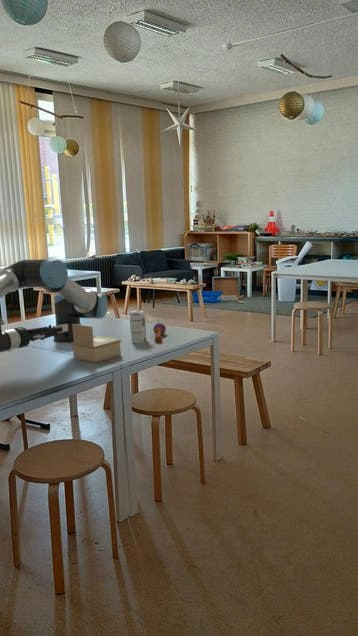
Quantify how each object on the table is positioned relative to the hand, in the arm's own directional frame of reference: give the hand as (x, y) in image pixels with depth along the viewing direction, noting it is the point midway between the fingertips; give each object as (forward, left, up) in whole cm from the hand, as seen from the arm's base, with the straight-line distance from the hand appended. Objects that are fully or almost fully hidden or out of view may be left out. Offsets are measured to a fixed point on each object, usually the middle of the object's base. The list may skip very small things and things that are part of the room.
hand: (66, 327), depth 228 cm
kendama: (-2, +56, -16) cm, 58 cm away
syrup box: (-5, +45, -16) cm, 48 cm away
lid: (0, +15, -9) cm, 18 cm away
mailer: (0, +15, -16) cm, 22 cm away
